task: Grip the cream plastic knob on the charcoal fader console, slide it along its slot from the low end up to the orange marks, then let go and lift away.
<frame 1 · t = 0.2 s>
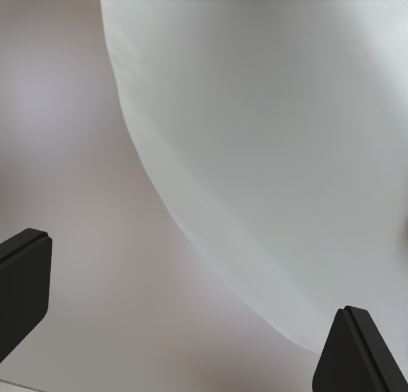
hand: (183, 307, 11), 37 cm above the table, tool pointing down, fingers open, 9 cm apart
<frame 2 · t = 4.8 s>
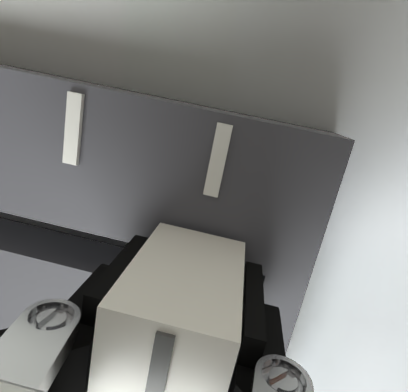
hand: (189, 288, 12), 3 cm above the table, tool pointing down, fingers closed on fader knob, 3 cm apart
fader knob: (183, 309, 11), point 4 cm above the table, slide at -5.0 cm, touching gripper
fader console: (94, 224, 15), on the table
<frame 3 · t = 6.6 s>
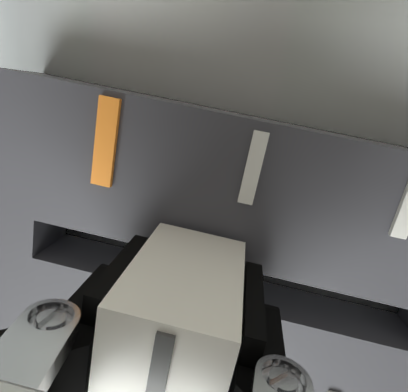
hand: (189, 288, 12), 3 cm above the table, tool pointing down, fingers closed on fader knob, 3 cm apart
fader knob: (183, 309, 11), point 4 cm above the table, slide at 1.2 cm, touching gripper
fader console: (229, 256, 15), on the table
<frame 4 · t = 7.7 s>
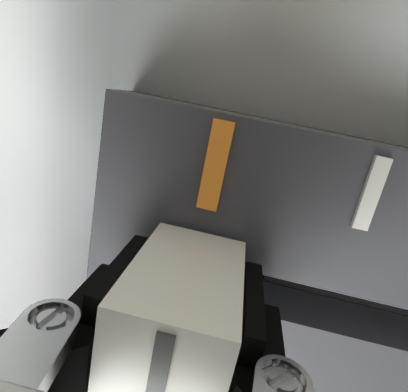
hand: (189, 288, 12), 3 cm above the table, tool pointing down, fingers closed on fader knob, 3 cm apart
fader knob: (183, 309, 11), point 4 cm above the table, slide at 4.9 cm, touching gripper
fader console: (315, 276, 14), on the table
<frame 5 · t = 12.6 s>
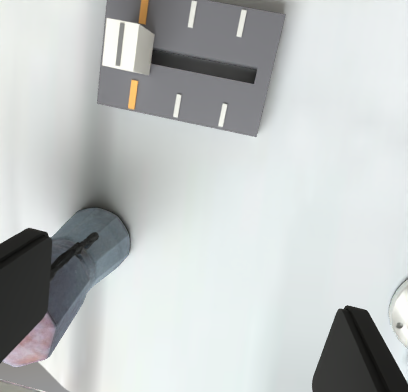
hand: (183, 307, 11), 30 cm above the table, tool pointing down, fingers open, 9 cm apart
fader knob: (132, 50, 34), point 4 cm above the table, slide at 5.0 cm
moka pot: (100, 234, 45), on the table
fader console: (189, 64, 38), on the table
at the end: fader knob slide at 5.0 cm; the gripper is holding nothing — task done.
